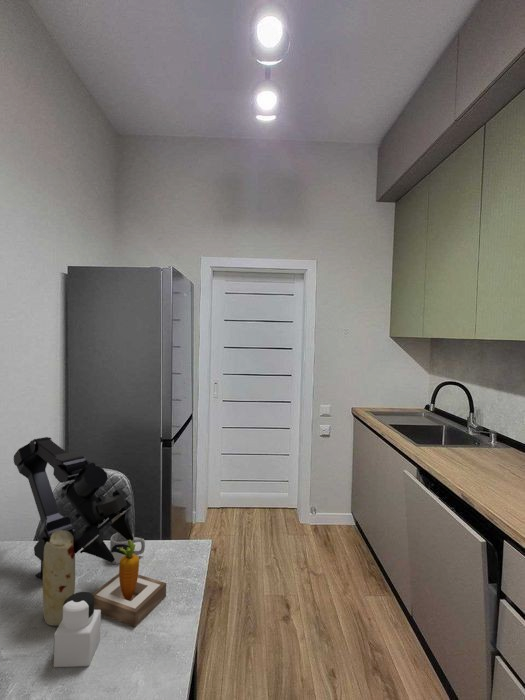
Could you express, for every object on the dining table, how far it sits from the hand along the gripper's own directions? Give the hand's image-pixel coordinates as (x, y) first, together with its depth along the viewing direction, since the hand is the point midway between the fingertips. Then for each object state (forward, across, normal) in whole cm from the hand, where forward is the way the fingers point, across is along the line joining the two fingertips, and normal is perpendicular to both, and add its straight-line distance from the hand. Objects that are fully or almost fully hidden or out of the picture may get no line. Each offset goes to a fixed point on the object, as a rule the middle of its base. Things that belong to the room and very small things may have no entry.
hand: (123, 550), depth 100 cm
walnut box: (+11, -1, +7) cm, 13 cm away
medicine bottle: (+9, -18, +8) cm, 22 cm away
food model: (+2, -10, +17) cm, 19 cm away
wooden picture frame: (+11, -1, +7) cm, 13 cm away
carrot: (+11, -1, +7) cm, 13 cm away
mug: (+5, +17, +16) cm, 24 cm away
